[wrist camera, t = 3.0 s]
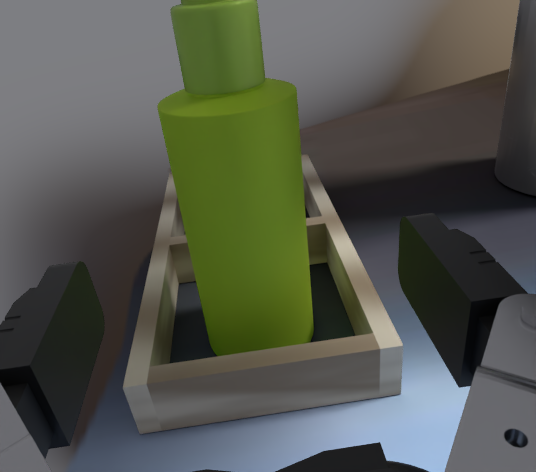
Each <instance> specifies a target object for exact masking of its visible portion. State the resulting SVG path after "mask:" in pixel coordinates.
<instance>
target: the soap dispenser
mask: <svg viewBox="0 0 536 472" xmlns="http://www.w3.org/2000/svg"><path fill="white" fill-rule="evenodd" d="M171 18H172V23H173V29H174V34H175V39H176V45H177V50H178V55H179V61H180V66H181V71H182V76H183V82H184V87H185V89H183V90H180V91H178V92H176V93H174V94H172V95H170V96H168V97H166V98H164V99H163V100H161V101H160V102H159V104H158V112H159V116H160V121H161V125H162V130H163V135H164V139H165V143H166V148H167V153H168V157H169V161H170V166H171V171H172V175H173V180H174V184H175V189H176V193H177V198H178V202H179V207H180V211H181V216H182V220H183V225H184V229H185V234H186V238H187V243H188V247H189V252H190V256H191V261H192V265H193V270H194V274H195V279H196V283H197V288H198V292H199V297H200V301H201V306H202V310H203V315H204V319H205V324H206V328H207V333H208V337H209V342H210V345H211V348H212V350H213V351H214V353H215V354H216V355H217V356H224V355H231V354H238V353H244V352H251V351H258V350H264V349H271V348H278V347H285V346H291V345H298V344H305V343H310V341H311V339H312V336H313V332H314V323H313V309H312V295H311V282H310V268H309V254H308V241H307V227H306V213H305V200H304V186H303V172H302V158H301V145H300V131H299V118H298V104H297V90H296V87H295V86H294V85H293V84H291V83H289V82H285V81H281V80H276V79H269V78H265V71H264V61H263V52H262V42H261V32H260V23H259V14H258V5H257V0H181V4H180V5H176V6H173V7H172V8H171Z"/></svg>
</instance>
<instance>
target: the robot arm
mask: <svg viewBox="0 0 536 472" xmlns="http://www.w3.org/2000/svg"><path fill="white" fill-rule="evenodd" d="M494 172H495V176H496V178H497V179H498V180H499V181H500V182H501V183H503V184H504V185H506V186H508V187H510V188H512V189H514V190H517V191H520V192H522V193H525V194H529V195H534V196H536V0H520V4H519V10H518V16H517V24H516V30H515V37H514V44H513V51H512V57H511V64H510V70H509V77H508V84H507V91H506V97H505V104H504V111H503V118H502V124H501V130H500V137H499V143H498V150H497V157H496V164H495V171H494ZM398 274H399V280H400V284H401V288H402V290H403V292H404V294H405V296H406V297H407V299H408V301H409V303H410V304H411V306H412V308H413V309H414V311H415V313H416V315H417V316H418V318H419V320H420V321H421V323H422V325H423V327H424V328H425V330H426V332H427V333H428V335H429V337H430V339H431V340H432V342H433V344H434V345H435V347H436V349H437V351H438V352H439V354H440V356H441V357H442V359H443V361H444V363H445V364H446V366H447V368H448V369H449V371H450V373H451V375H452V376H453V378H454V380H455V381H456V383H457V385H458V387H466V386H471V387H470V391H469V394H468V397H467V400H466V404H465V407H464V410H463V413H462V417H461V420H460V423H459V427H458V430H457V433H456V436H455V440H454V443H453V446H452V449H451V453H450V456H449V459H448V462H447V466H446V469H445V472H536V294H528V293H527V292H526V291H525V290H524V289H523V288H522V287H521V286H520V285H519V284H518V283H517V282H516V281H515V279H514V278H513V277H512V276H511V275H510V274H509V273H508V272H507V271H506V270H505V269H504V268H503V267H502V266H501V265H500V264H499V263H498V262H496V261H495V259H494V258H493V257H492V256H491V255H490V254H489V253H488V252H486V249H485V248H484V247H483V246H482V245H481V244H480V243H479V242H478V241H477V240H476V239H475V238H474V237H472V236H470V235H468V234H466V233H464V232H462V231H460V230H458V229H452V230H449V229H448V228H447V227H446V226H445V225H444V224H443V223H442V222H441V221H440V219H439V218H438V217H437V216H436V215H435V214H434V213H427V214H420V215H413V216H406V217H403V218H402V219H401V222H400V234H399V258H398ZM103 334H104V316H103V312H102V308H101V305H100V303H99V300H98V297H97V294H96V291H95V289H94V286H93V283H92V280H91V277H90V275H89V272H88V269H87V267H86V265H85V264H84V263H83V262H81V261H80V262H73V263H66V264H58V265H52V266H49V267H48V269H47V271H46V272H45V274H44V276H43V278H42V279H41V281H40V283H39V285H38V287H37V288H30V289H29V290H28V291H27V292H26V293H24V294H23V295H22V296H21V297H20V298H19V299H18V300H16V301H15V302H14V303H13V305H12V307H11V309H10V310H9V312H8V313H7V315H6V317H5V321H3V322H2V324H1V325H0V472H52V471H51V469H50V468H49V466H48V464H47V463H46V461H45V458H46V455H47V452H48V449H50V448H57V447H64V446H70V443H71V440H72V436H73V433H74V430H75V427H76V423H77V420H78V417H79V414H80V410H81V407H82V404H83V400H84V397H85V394H86V390H87V387H88V384H89V380H90V377H91V374H92V371H93V367H94V364H95V361H96V357H97V354H98V351H99V348H100V344H101V341H102V338H103ZM194 472H229V471H218V470H207V469H206V470H200V471H194ZM276 472H429V471H426V470H424V469H421V468H418V467H415V466H412V465H408V464H404V463H399V462H393V461H386V458H385V455H384V452H383V449H382V447H381V444H380V442H379V443H373V444H367V445H360V446H354V447H347V448H341V449H334V450H328V451H323V452H321V453H318V454H316V455H314V456H311V457H309V458H307V459H304V460H302V461H299V462H297V463H295V464H292V465H290V466H287V467H285V468H283V469H280V470H278V471H276Z"/></svg>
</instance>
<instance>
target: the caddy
mask: <svg viewBox="0 0 536 472" xmlns="http://www.w3.org/2000/svg"><path fill="white" fill-rule="evenodd" d="M301 158H302V172H303V186H304V200H305V206H306V208H307V211H308V214H309V216H310V218H306V227H307V241H308V254H309V265H312V264H318V263H325V262H327V263H328V266H329V268H330V271H331V273H332V276H333V278H334V281H335V284H336V286H337V289H338V291H339V294H340V297H341V299H342V302H343V304H344V307H345V310H346V312H347V315H348V317H349V320H350V323H351V325H352V328H353V330H354V333H355V336H352V337H345V338H338V339H332V340H325V341H318V342H311V343H305V344H298V345H291V346H285V347H278V348H271V349H264V350H258V351H251V352H244V353H238V354H231V355H224V356H218V357H211V358H204V359H197V360H191V361H184V362H177V363H171V364H170V356H171V347H172V338H173V329H174V320H175V312H176V303H177V294H178V285H179V283H186V282H193V281H196V279H195V274H194V270H193V265H192V261H191V256H190V252H189V247H188V243H187V238H186V235H184V232H185V229H184V225H183V220H182V216H181V211H180V207H179V202H178V198H177V193H176V189H175V184H174V180H173V175H172V173H170V174H169V179H168V183H167V188H166V193H165V197H164V201H163V206H162V210H161V215H160V220H159V224H158V229H157V233H156V238H155V243H154V247H153V252H152V256H151V261H150V265H149V270H148V274H147V279H146V283H145V288H144V293H143V297H142V302H141V306H140V311H139V315H138V320H137V325H136V329H135V334H134V338H133V343H132V347H131V352H130V356H129V361H128V366H127V370H126V375H125V379H124V384H123V390H124V393H125V395H126V398H127V401H128V403H129V406H130V409H131V412H132V414H133V417H134V420H135V422H136V425H137V428H138V431H139V433H140V434H144V433H151V432H157V431H164V430H170V429H177V428H183V427H190V426H196V425H203V424H209V423H216V422H222V421H229V420H235V419H242V418H248V417H255V416H261V415H268V414H274V413H281V412H287V411H294V410H300V409H307V408H313V407H320V406H326V405H333V404H339V403H346V402H352V401H359V400H365V399H372V398H378V397H385V396H391V395H398V394H401V379H402V360H403V344H402V342H401V340H400V338H399V336H398V334H397V332H396V330H395V328H394V326H393V324H392V322H391V320H390V318H389V316H388V314H387V312H386V310H385V308H384V306H383V304H382V302H381V300H380V298H379V296H378V294H377V292H376V290H375V288H374V286H373V284H372V282H371V280H370V278H369V276H368V274H367V272H366V270H365V268H364V266H363V264H362V262H361V260H360V258H359V256H358V254H357V252H356V250H355V248H354V246H353V244H352V242H351V240H350V238H349V236H348V234H347V232H346V231H345V229H344V227H343V225H342V223H341V221H340V219H339V217H338V215H337V213H336V211H335V209H334V207H333V205H332V203H331V201H330V199H329V197H328V195H327V193H326V191H325V189H324V187H323V185H322V183H321V181H320V179H319V177H318V175H317V173H316V171H315V169H314V167H313V165H312V163H311V161H310V159H309V157H308V155H301Z"/></svg>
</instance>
